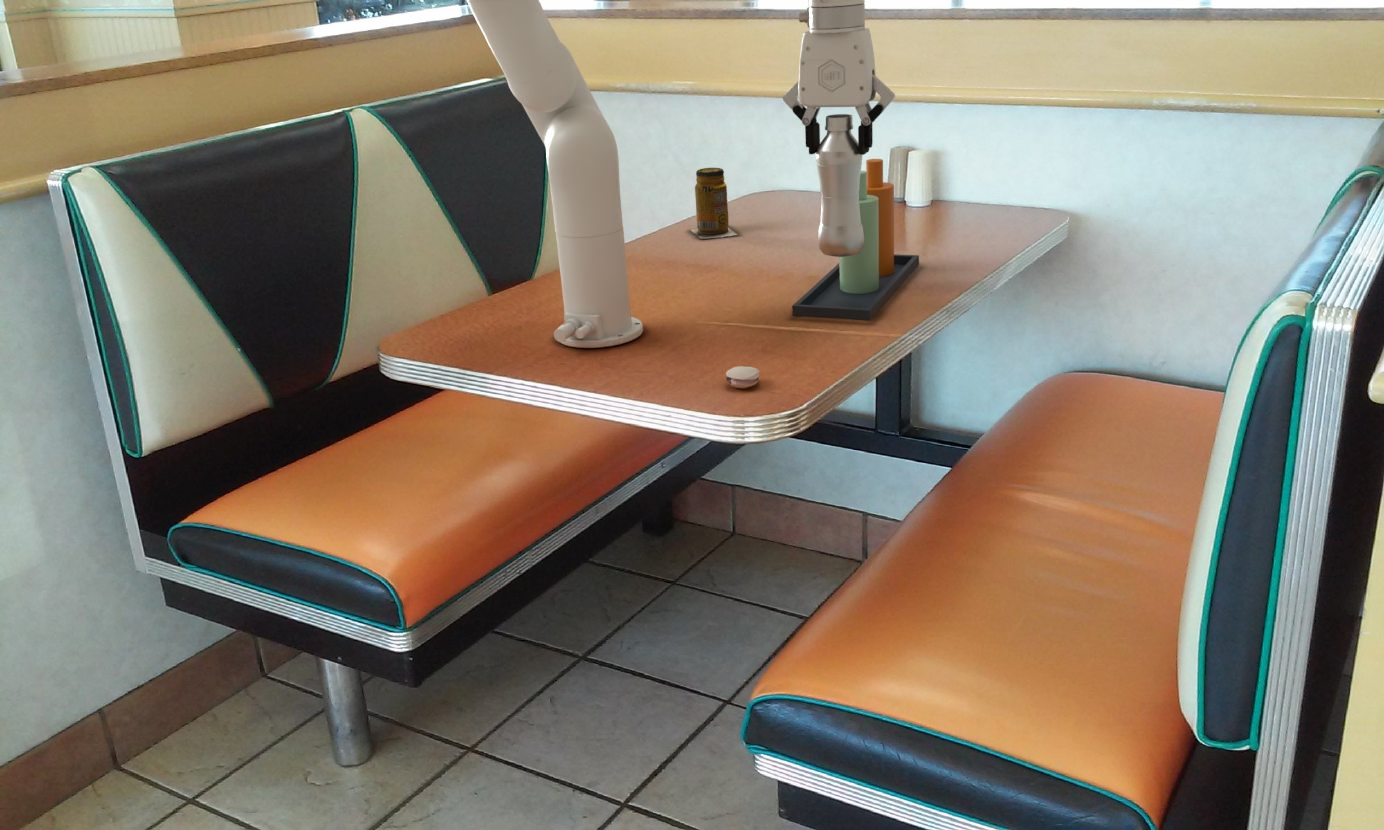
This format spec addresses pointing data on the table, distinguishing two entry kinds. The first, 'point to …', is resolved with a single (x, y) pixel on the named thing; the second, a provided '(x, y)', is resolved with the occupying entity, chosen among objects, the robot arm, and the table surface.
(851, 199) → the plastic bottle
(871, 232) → the sage bottle
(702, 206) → the condiment
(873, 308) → the tray
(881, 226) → the amber bottle
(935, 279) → the table surface
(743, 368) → the macaroon
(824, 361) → the table surface
